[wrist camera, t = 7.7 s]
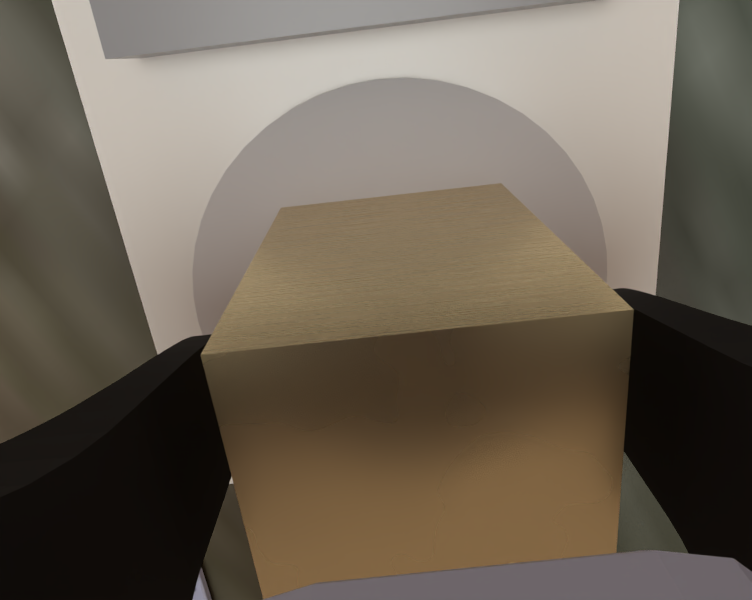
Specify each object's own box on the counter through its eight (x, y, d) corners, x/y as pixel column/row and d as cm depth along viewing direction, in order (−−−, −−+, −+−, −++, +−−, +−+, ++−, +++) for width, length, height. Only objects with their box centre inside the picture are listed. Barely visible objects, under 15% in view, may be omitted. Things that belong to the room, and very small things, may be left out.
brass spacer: (505, 375, 15) (611, 617, 9) (313, 394, 15) (275, 647, 9) (501, 183, 13) (633, 309, 7) (280, 207, 13) (200, 356, 7)
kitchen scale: (616, 401, 18) (703, 523, 14) (213, 444, 19) (161, 577, 14) (648, -182, 13) (821, -326, 8) (63, -103, 13) (-113, -194, 8)
